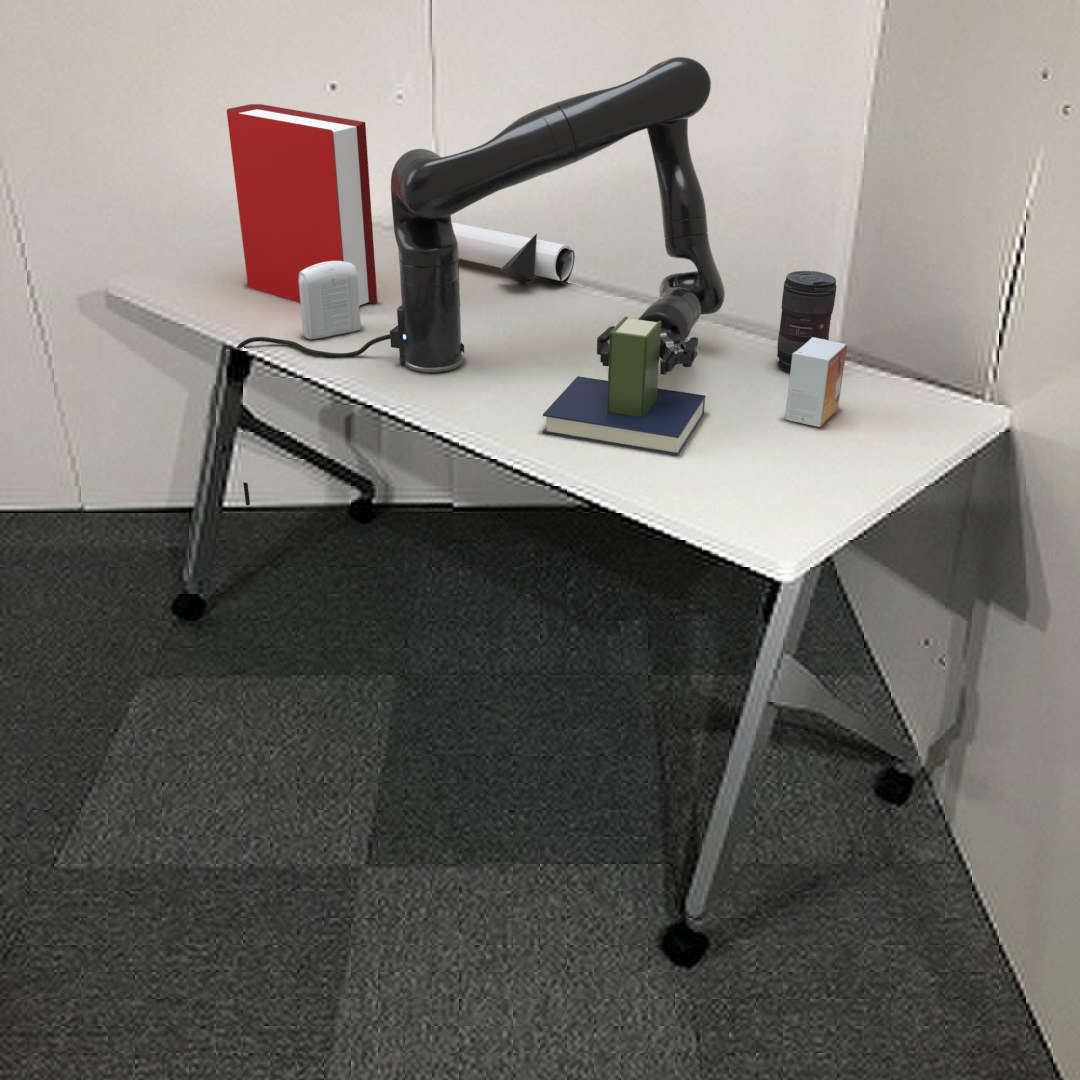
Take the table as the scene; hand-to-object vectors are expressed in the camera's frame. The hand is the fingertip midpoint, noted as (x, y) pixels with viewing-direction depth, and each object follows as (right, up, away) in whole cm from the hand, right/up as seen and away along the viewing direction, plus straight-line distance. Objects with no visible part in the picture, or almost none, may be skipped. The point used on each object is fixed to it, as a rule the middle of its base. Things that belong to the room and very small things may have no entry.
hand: (633, 364), depth 170 cm
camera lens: (+29, +3, +24) cm, 38 cm away
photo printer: (-49, +11, +37) cm, 62 cm away
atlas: (-1, -8, +5) cm, 10 cm away
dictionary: (0, -6, +4) cm, 7 cm away
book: (-56, +21, +54) cm, 81 cm away
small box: (+27, -7, +8) cm, 29 cm away
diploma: (-24, +27, +65) cm, 74 cm away
